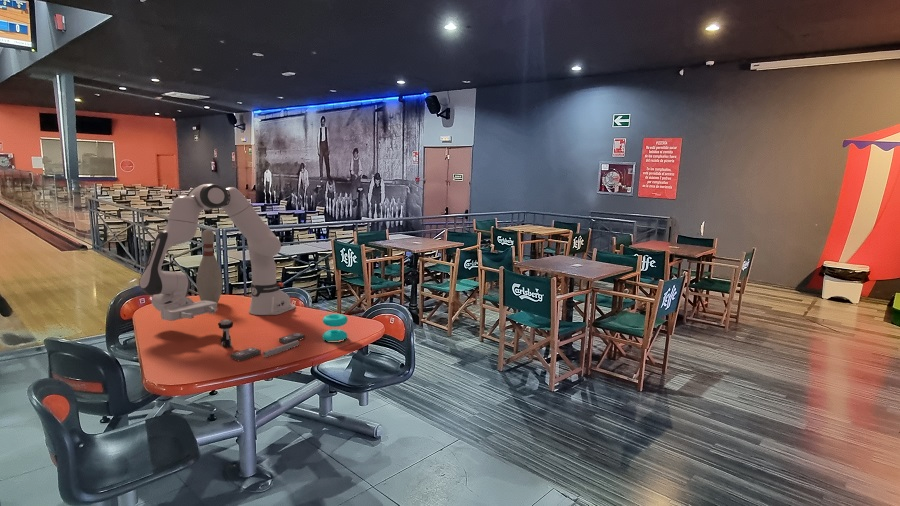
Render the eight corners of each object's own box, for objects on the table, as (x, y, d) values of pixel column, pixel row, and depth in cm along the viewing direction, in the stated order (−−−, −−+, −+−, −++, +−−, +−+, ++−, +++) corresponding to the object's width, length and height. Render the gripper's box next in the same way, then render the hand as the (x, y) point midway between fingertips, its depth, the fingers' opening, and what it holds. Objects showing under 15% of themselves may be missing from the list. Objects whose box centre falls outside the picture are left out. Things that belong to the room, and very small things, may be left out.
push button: (214, 344, 188) (214, 319, 187) (228, 341, 192) (227, 317, 191) (222, 348, 184) (221, 323, 182) (236, 345, 188) (235, 321, 186)
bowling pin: (192, 305, 240) (189, 229, 234) (207, 300, 251) (205, 227, 245) (212, 307, 238) (210, 231, 232) (227, 301, 249) (225, 228, 243)
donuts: (318, 318, 195) (329, 312, 204) (318, 342, 196) (329, 334, 206) (341, 321, 192) (351, 314, 202) (340, 344, 194) (351, 337, 204)
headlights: (296, 336, 202) (296, 331, 201) (312, 340, 197) (312, 336, 197) (230, 358, 175) (230, 353, 175) (248, 364, 170) (248, 358, 170)
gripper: (205, 309, 208) (226, 315, 201) (157, 320, 190) (178, 327, 183) (205, 295, 207) (226, 301, 200) (157, 304, 189) (178, 311, 182)
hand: (203, 313), depth 192 cm, fingers open, 8 cm apart
